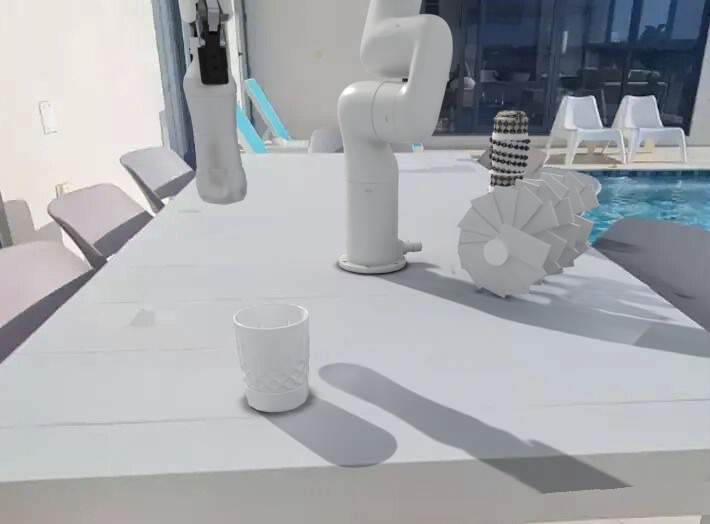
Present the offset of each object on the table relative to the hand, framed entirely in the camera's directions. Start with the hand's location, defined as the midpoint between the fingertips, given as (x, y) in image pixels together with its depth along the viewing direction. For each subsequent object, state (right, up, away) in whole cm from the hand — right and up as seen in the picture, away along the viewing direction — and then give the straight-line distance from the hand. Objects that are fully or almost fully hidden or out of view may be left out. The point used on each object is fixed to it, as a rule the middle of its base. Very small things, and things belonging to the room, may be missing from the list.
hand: (210, 81), depth 79 cm
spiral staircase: (+45, -21, +31) cm, 59 cm away
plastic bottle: (0, -14, +6) cm, 15 cm away
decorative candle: (+49, -2, +73) cm, 88 cm away
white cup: (+10, -39, -8) cm, 41 cm away
